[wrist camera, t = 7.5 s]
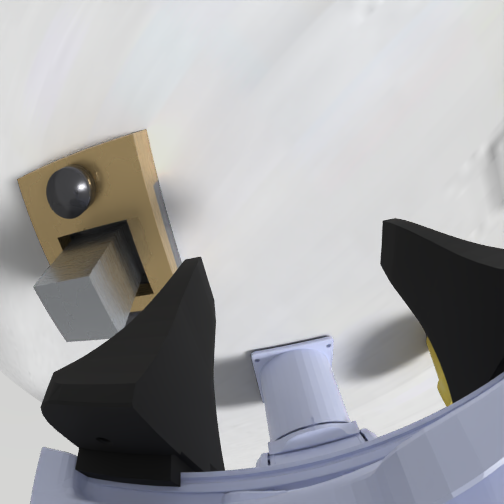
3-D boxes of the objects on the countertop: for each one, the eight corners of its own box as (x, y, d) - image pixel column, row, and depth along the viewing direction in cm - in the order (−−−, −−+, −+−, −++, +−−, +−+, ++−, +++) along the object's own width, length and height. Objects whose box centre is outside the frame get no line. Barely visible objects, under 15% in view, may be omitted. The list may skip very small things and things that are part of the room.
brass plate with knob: (198, 313, 24) (196, 351, 20) (106, 325, 23) (93, 359, 20) (146, 129, 16) (126, 136, 13) (39, 167, 16) (7, 185, 12)
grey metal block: (148, 261, 21) (121, 337, 14) (104, 270, 21) (66, 341, 14) (131, 213, 19) (88, 275, 12) (85, 225, 19) (33, 286, 12)
